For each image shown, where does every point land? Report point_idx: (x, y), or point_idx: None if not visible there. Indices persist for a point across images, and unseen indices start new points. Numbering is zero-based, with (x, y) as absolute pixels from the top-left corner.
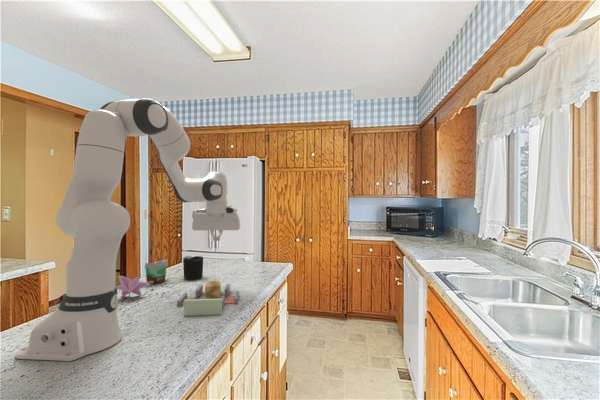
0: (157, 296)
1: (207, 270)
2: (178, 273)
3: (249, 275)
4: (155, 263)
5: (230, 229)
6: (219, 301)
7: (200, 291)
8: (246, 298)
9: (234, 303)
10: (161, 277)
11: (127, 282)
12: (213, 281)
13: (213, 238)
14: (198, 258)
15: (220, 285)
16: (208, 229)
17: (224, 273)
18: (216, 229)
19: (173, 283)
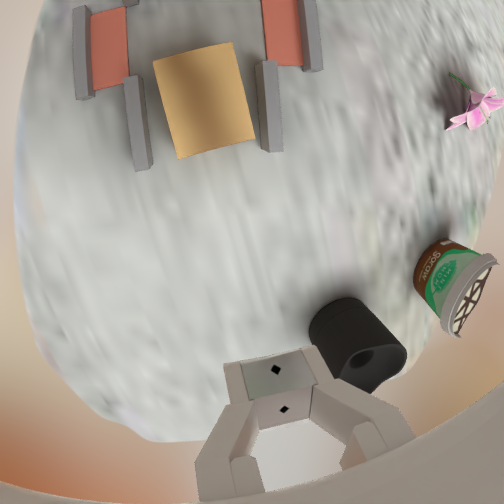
0: (404, 107)
1: None
2: None
3: (137, 373)
4: (480, 272)
5: (37, 501)
6: None
7: (261, 99)
8: (52, 80)
9: (89, 10)
10: (431, 265)
11: (497, 99)
12: (211, 135)
13: (316, 362)
14: None
15: (154, 65)
16: (459, 425)
17: None
18: (320, 491)
19: (389, 256)
